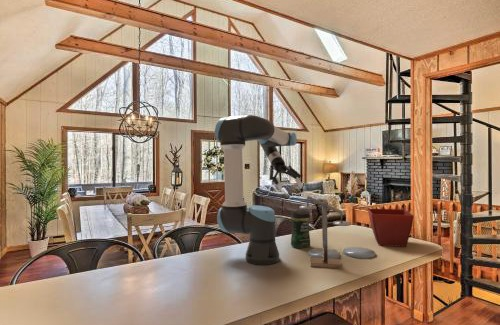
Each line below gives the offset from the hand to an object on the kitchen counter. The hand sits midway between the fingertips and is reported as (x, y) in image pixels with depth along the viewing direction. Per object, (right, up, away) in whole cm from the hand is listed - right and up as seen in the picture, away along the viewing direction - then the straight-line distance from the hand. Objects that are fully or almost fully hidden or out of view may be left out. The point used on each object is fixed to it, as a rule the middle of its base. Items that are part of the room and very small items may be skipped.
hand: (291, 187), depth 154 cm
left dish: (+12, -29, -23) cm, 39 cm away
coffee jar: (+4, -30, -8) cm, 31 cm away
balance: (+9, -29, -36) cm, 47 cm away
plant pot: (+51, -29, -4) cm, 59 cm away
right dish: (+28, -29, -22) cm, 46 cm away
